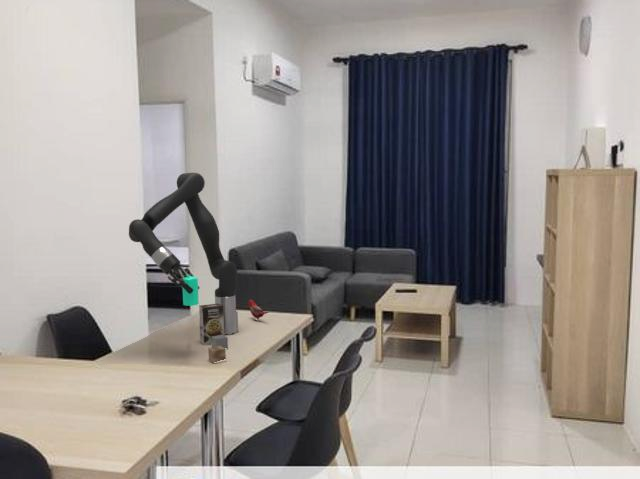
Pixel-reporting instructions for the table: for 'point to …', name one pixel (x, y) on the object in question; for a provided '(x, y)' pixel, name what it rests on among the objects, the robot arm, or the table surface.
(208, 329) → the coffee box
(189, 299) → the candle
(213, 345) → the gray cube
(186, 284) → the robot arm
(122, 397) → the table surface
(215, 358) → the walnut block
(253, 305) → the decorative bird figurine
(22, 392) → the table surface
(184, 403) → the table surface
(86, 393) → the table surface
